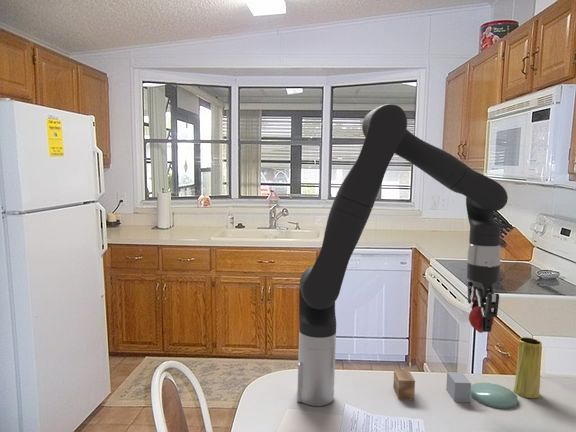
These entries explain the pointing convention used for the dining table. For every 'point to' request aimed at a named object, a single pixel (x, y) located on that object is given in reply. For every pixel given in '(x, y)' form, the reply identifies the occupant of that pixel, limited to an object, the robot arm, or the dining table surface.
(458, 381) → the slate block
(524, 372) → the vase
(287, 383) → the dining table surface
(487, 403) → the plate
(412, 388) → the walnut block
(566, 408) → the dining table surface
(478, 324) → the onion
